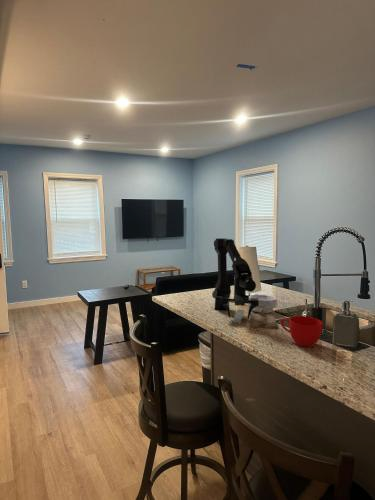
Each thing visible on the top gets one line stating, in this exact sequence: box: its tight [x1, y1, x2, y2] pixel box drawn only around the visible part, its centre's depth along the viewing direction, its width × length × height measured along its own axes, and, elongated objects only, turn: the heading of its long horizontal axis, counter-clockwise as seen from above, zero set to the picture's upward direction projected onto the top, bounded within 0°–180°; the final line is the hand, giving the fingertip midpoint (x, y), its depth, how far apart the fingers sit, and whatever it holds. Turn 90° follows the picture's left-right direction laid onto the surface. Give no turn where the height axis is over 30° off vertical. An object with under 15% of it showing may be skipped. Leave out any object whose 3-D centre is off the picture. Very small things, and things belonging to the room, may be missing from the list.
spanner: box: [233, 309, 244, 325], centre depth 170 cm, size 3×11×4 cm, turn 164°
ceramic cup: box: [280, 315, 324, 348], centre depth 140 cm, size 13×17×10 cm
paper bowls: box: [248, 294, 278, 314], centre depth 188 cm, size 15×15×8 cm
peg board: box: [249, 309, 279, 330], centre depth 168 cm, size 12×19×4 cm, turn 172°
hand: (238, 317), depth 170 cm, fingers open, 9 cm apart
